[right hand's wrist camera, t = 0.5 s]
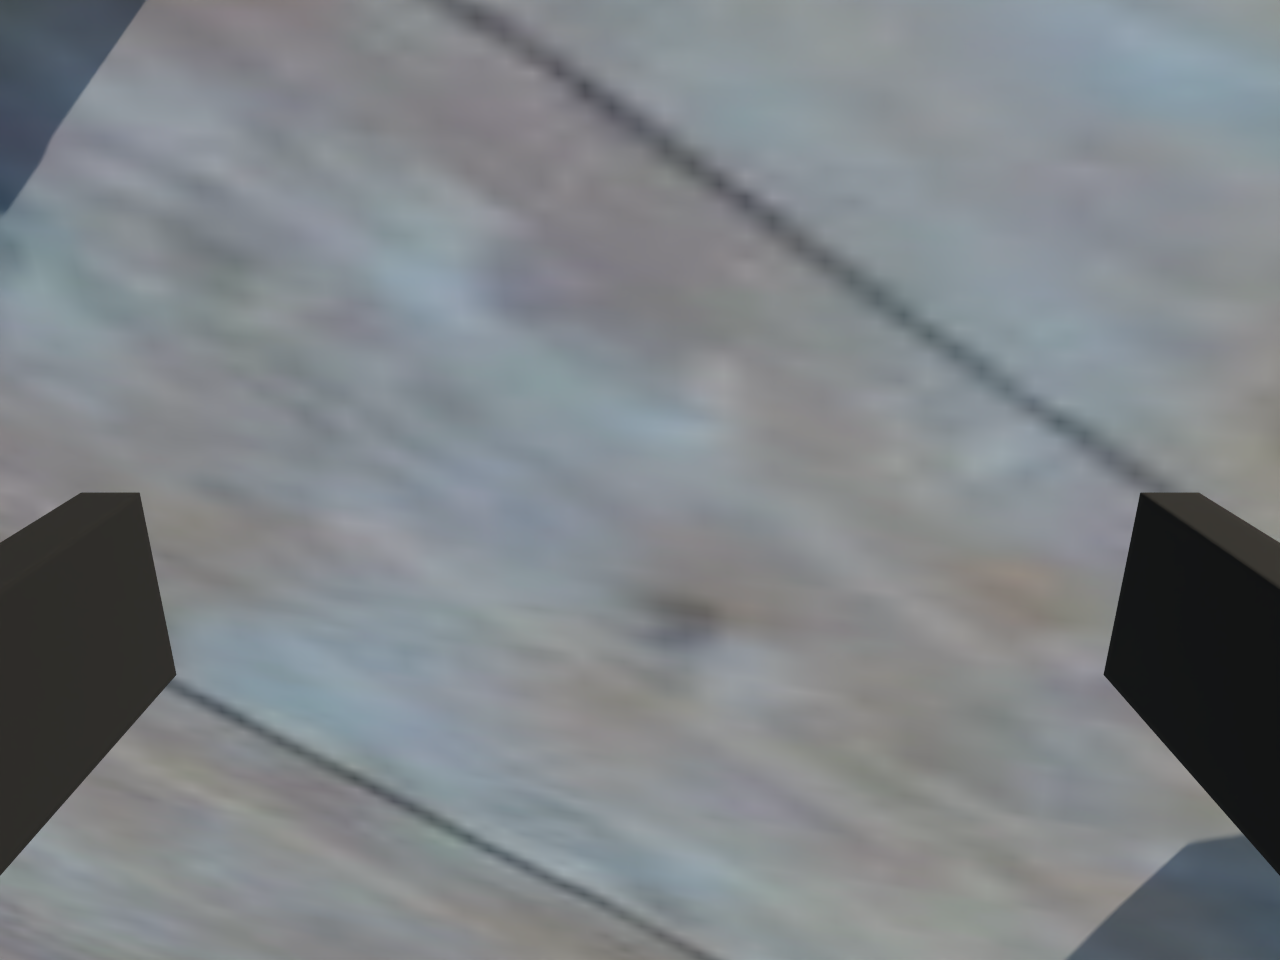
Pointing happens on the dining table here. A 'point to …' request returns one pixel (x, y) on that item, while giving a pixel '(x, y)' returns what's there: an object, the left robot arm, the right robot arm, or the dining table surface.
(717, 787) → the dining table surface
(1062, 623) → the dining table surface
